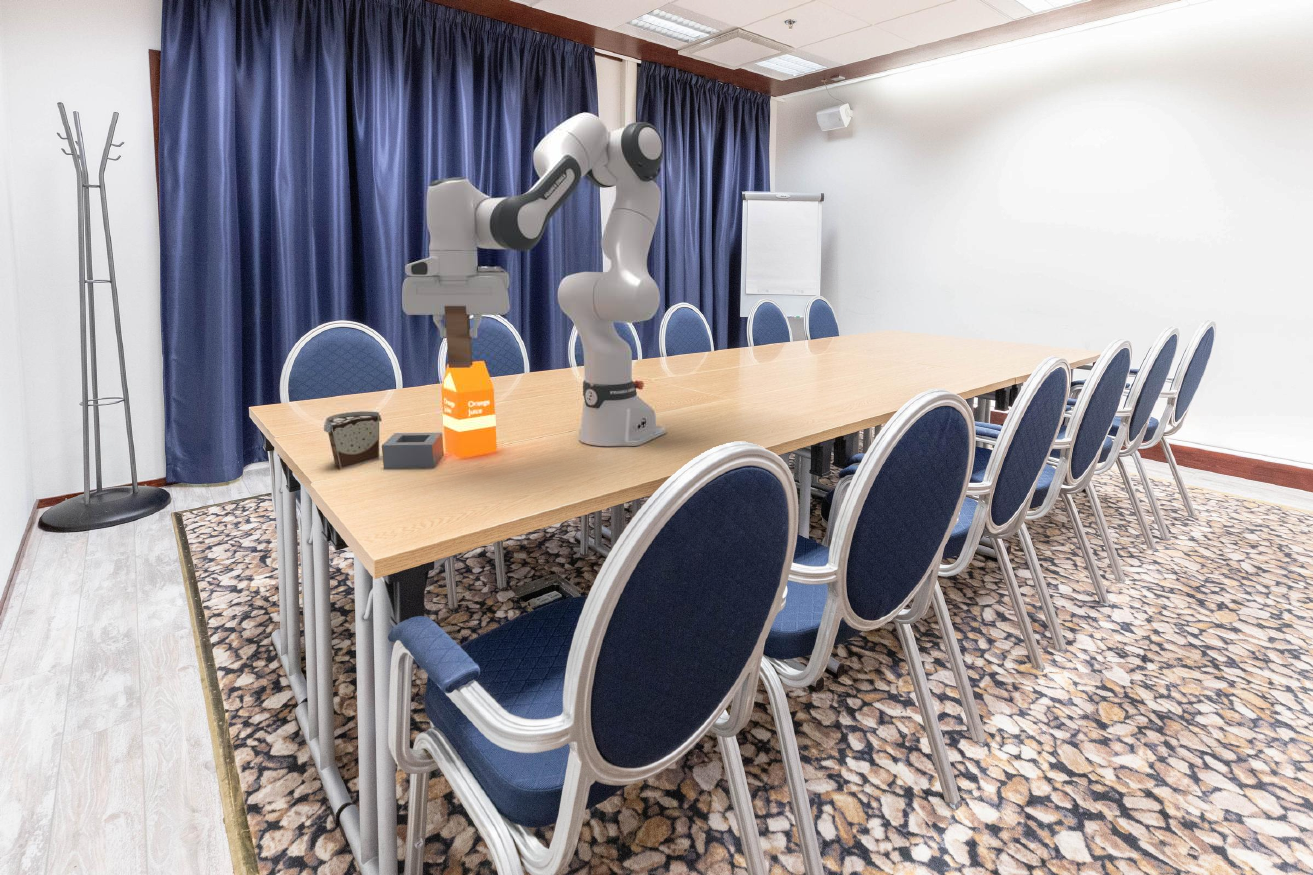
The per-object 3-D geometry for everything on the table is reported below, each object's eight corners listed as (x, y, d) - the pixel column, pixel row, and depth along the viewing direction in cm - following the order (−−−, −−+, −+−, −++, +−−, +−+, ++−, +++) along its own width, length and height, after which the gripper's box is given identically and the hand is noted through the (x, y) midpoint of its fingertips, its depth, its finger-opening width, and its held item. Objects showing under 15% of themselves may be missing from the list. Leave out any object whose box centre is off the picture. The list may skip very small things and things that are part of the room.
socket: (396, 455, 151) (394, 433, 150) (443, 454, 152) (442, 432, 150) (383, 468, 141) (381, 445, 140) (433, 468, 142) (432, 444, 141)
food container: (366, 452, 153) (362, 408, 150) (385, 456, 150) (381, 411, 147) (315, 466, 142) (309, 419, 140) (334, 471, 139) (328, 423, 137)
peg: (452, 364, 140) (448, 304, 137) (472, 364, 141) (469, 304, 137) (448, 367, 136) (444, 306, 133) (469, 367, 137) (465, 306, 134)
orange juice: (445, 451, 154) (438, 362, 149) (481, 444, 160) (476, 358, 155) (460, 458, 149) (455, 366, 144) (497, 451, 154) (493, 362, 149)
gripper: (510, 266, 137) (513, 335, 141) (404, 265, 135) (410, 336, 139) (507, 266, 131) (510, 339, 135) (396, 266, 129) (402, 340, 133)
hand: (459, 338), depth 137 cm, fingers closed on peg, 4 cm apart
